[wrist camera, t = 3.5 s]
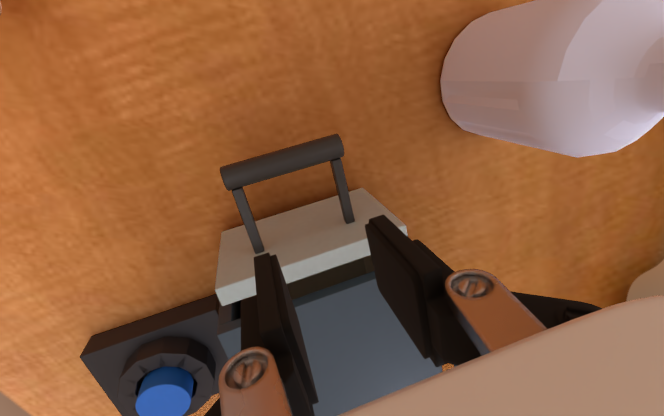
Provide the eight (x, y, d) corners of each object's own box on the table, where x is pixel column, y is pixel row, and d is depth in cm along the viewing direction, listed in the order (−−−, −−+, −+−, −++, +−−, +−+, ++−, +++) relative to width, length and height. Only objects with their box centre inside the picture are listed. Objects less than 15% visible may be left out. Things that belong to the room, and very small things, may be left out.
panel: (217, 293, 28) (214, 324, 25) (248, 362, 31) (249, 399, 28) (91, 336, 27) (67, 376, 23) (137, 403, 30) (123, 448, 26)
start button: (182, 358, 25) (178, 377, 24) (200, 391, 27) (198, 411, 25) (132, 376, 25) (125, 396, 23) (154, 409, 26) (148, 430, 25)
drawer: (191, 159, 23) (170, 194, 16) (348, 115, 25) (391, 129, 18) (273, 360, 31) (284, 444, 24) (389, 316, 32) (431, 382, 25)
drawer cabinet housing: (223, 253, 27) (216, 335, 18) (370, 205, 29) (427, 260, 20) (276, 380, 33) (290, 488, 24) (396, 333, 35) (449, 418, 26)
